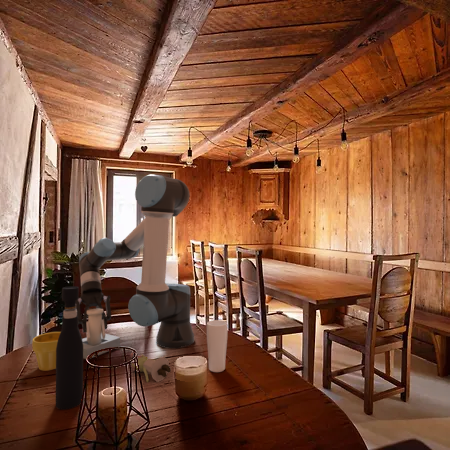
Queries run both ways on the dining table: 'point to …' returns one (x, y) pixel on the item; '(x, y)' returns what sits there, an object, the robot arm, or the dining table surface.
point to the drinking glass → (216, 344)
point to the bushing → (95, 326)
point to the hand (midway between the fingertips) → (96, 338)
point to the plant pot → (46, 350)
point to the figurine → (152, 367)
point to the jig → (100, 345)
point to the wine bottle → (69, 355)
